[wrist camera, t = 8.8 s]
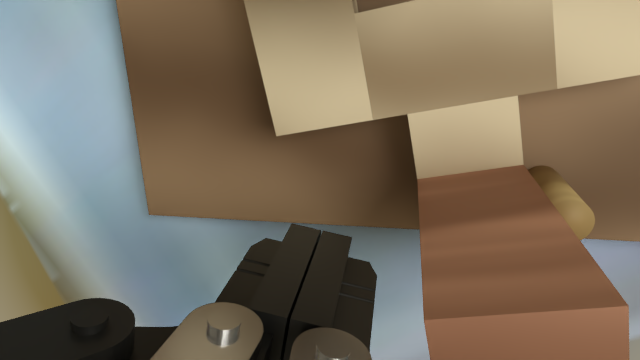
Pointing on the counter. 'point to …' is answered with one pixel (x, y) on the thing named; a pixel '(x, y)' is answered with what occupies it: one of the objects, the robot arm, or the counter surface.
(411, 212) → the post base
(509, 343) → the square frame with handle
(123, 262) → the counter surface
